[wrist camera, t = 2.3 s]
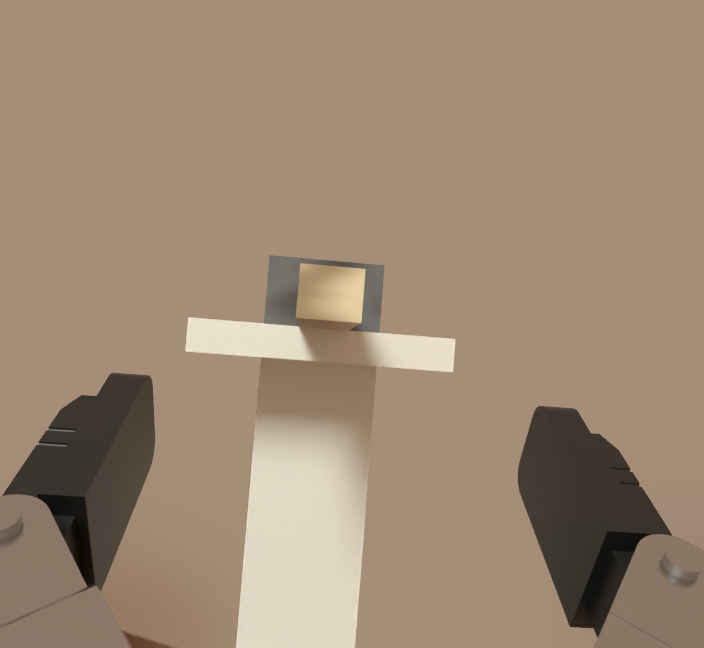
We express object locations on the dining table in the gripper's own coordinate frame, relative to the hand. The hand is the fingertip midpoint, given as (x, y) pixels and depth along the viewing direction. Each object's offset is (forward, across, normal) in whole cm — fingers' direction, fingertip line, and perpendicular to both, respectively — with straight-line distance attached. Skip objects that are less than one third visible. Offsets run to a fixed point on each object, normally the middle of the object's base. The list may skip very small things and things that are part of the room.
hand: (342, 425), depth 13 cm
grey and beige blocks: (+24, 0, +10) cm, 26 cm away
